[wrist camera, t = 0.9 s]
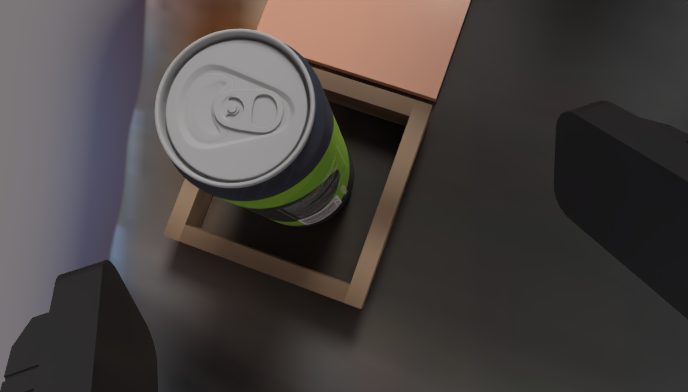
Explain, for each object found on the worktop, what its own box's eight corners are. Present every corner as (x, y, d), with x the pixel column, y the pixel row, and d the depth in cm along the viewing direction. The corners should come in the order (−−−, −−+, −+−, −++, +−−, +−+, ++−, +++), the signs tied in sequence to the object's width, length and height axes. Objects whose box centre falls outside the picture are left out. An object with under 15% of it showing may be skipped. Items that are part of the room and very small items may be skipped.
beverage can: (360, 132, 34) (331, 26, 20) (349, 234, 34) (310, 203, 19) (260, 124, 35) (161, 15, 20) (247, 223, 34) (133, 185, 19)
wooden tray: (248, 59, 36) (237, 43, 33) (430, 117, 34) (432, 105, 32) (179, 237, 35) (162, 235, 32) (363, 306, 33) (360, 309, 30)
